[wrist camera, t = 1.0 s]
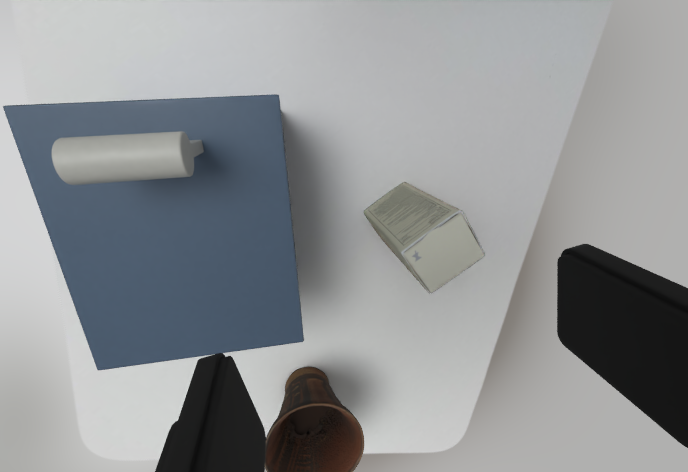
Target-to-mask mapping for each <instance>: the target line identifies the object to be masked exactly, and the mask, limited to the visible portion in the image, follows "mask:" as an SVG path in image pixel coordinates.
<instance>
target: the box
mask: <svg viewBox="0 0 688 472" xmlns="http://www.w3.org/2000/svg"><path fill="white" fill-rule="evenodd" d="M364 214H365V216H366V217H367V219H368V220H369V222H370V223H371V225H372V226H373V228H374V229H375V230H376V232H377V233H378V235H379V236H380V237H381V239H382V240H383V241H384V242H385V244H386V245H387V246H388V247H389V248H390V249H391V250H392V252H393V253H394V254H395V255H396V256H397V257H398V258H399V260H400V261H401V262H402V263H403V264H404V265H405V266H406V268H407V269H408V270H409V271H410V272H411V273H412V275H413V276H414V277H415V278H416V279H417V280H418V281H419V282H420V284H421V285H422V286H423V287H424V288H425V289H426V290H427V291H428V293H433V292H434V291H436V290H437V289H439V288H440V287H442V286H443V285H445V284H446V283H448V282H449V281H451V280H452V279H453V278H455V277H456V276H458V275H459V274H461V273H462V272H463V271H465V270H466V269H468V268H469V267H470V266H472V265H473V264H475V263H476V262H477V261H479V260H480V259H481V258H483V257H484V256H485V253H484V251H483V249H482V247H481V245H480V243H479V241H478V239H477V237H476V235H475V233H474V231H473V229H472V227H471V226H470V224H469V222H468V220H467V218H466V216H465V215H464V213H463V211H462V210H459V209H457V208H455V207H453V206H451V205H449V204H447V203H445V202H443V201H441V200H439V199H437V198H435V197H433V196H431V195H429V194H427V193H425V192H423V191H421V190H419V189H417V188H415V187H413V186H411V185H410V184H408V183H406V182H404V183H402V184H400V185H399V186H397V187H396V188H394V189H393V190H391V191H390V192H389V193H387V194H386V195H385V196H383V197H382V198H381V199H379V200H378V201H376V202H375V203H374V204H372V205H371V206H370V207H369V208H367V209H366V210H365V211H364Z"/></svg>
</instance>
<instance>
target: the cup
mask: <svg viewBox="0 0 688 472" xmlns="http://www.w3.org/2000/svg"><path fill="white" fill-rule="evenodd" d="M363 450H364V436H363V431H362V428H361V425H360V424H359V422H358V420H357V419H356V418H355V417H354V415H353V414H352V413H351V412H350V411H349V410H348V409H347V408H346V407H344V406H343V405H342V404H341V403H340V401H339V400H338V398H337V397H336V396H335V394H334V392H333V390H332V388H331V386H330V384H329V381H328V378H327V376H326V375H325V374H324V373H323V372H322V371H320V370H319V369H317V368H314V367H304V368H300V369H298V370H296V371H295V372H293V373H292V374H291V375H290V377H289V378H288V380H287V382H286V385H285V397H284V401H283V404H282V407H281V410H280V413H279V416H278V418H277V419H276V421H275V422H274V424H273V425H272V427H271V429H270V431H269V433H268V435H267V437H266V448H265V469H266V470H267V472H353V471H354V470H355V468H356V467H357V465H358V463H359V461H360V459H361V457H362V454H363Z"/></svg>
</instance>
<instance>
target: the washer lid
mask: <svg viewBox="0 0 688 472" xmlns="http://www.w3.org/2000/svg"><path fill="white" fill-rule="evenodd" d="M3 108H4V111H5V114H6V116H7V119H8V122H9V125H10V128H11V130H12V133H13V136H14V139H15V141H16V144H17V147H18V150H19V152H20V155H21V158H22V161H23V163H24V166H25V169H26V172H27V175H28V177H29V180H30V183H31V186H32V189H33V191H34V194H35V197H36V200H37V203H38V205H39V208H40V211H41V213H42V217H43V219H44V222H45V225H46V228H47V230H48V233H49V236H50V239H51V242H52V244H53V247H54V250H55V253H56V255H57V258H58V261H59V264H60V267H61V269H62V272H63V275H64V278H65V280H66V283H67V286H68V289H69V292H70V294H71V297H72V300H73V303H74V305H75V308H76V311H77V314H78V317H79V319H80V322H81V325H82V328H83V330H84V333H85V336H86V339H87V342H88V344H89V347H90V350H91V353H92V355H93V358H94V361H95V364H96V367H97V369H98V370H105V369H112V368H119V367H126V366H133V365H140V364H148V363H155V362H162V361H169V360H176V359H183V358H190V357H197V356H205V355H212V354H218V353H226V352H233V351H240V350H247V349H254V348H261V347H269V346H276V345H283V344H290V343H297V342H303V341H304V337H303V327H302V317H301V307H300V297H299V288H298V278H297V268H296V258H295V248H294V238H293V228H292V218H291V208H290V199H289V189H288V179H287V169H286V159H285V149H284V139H283V129H282V120H281V110H280V100H279V95H254V96H230V97H205V98H181V99H157V100H133V101H108V102H84V103H60V104H35V105H12V106H4V107H3Z"/></svg>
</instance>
